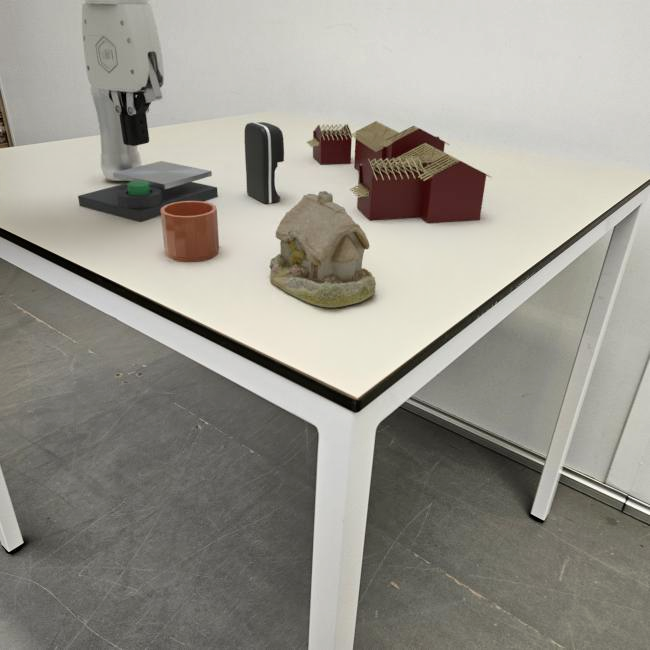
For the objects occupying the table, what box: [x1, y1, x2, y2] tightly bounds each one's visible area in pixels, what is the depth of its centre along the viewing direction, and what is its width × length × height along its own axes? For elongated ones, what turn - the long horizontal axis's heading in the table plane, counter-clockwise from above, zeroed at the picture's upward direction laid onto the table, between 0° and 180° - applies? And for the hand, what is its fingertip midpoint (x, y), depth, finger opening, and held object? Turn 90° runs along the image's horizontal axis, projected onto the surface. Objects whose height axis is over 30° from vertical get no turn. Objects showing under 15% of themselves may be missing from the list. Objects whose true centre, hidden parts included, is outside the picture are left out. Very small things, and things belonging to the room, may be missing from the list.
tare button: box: [127, 181, 150, 196], centre depth 85 cm, size 3×3×2 cm
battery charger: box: [244, 121, 285, 204], centre depth 93 cm, size 7×4×11 cm, turn 33°
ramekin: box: [160, 201, 220, 263], centre depth 73 cm, size 6×6×6 cm
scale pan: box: [113, 160, 213, 189], centre depth 93 cm, size 10×11×1 cm
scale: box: [77, 181, 219, 223], centre depth 92 cm, size 16×13×3 cm
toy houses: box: [306, 120, 493, 224], centre depth 103 cm, size 45×20×10 cm, turn 14°
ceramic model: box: [269, 190, 377, 309], centre depth 65 cm, size 14×11×10 cm
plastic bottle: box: [90, 84, 143, 182], centre depth 98 cm, size 6×7×20 cm
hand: (136, 143), depth 83 cm, fingers closed
